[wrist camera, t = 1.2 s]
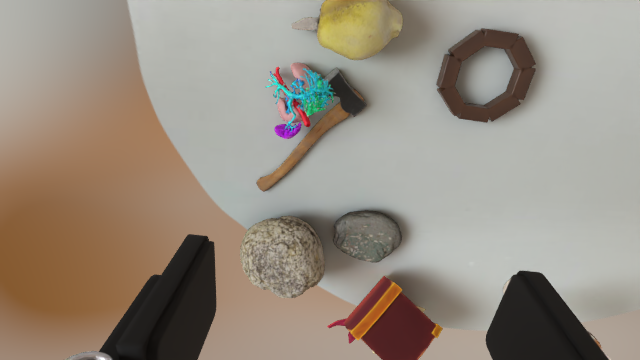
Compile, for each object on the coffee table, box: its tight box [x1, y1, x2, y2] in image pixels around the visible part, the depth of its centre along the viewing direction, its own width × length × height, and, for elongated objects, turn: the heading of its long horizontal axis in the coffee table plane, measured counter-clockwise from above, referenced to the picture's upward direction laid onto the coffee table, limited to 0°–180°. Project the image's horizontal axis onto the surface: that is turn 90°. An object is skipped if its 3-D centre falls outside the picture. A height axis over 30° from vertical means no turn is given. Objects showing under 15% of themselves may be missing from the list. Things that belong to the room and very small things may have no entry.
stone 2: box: [333, 211, 402, 262], centre depth 43 cm, size 7×8×2 cm
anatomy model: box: [266, 63, 336, 139], centre depth 34 cm, size 5×8×7 cm
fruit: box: [292, 0, 403, 60], centre depth 32 cm, size 6×6×10 cm
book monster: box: [328, 276, 443, 360], centre depth 46 cm, size 11×9×12 cm
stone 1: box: [240, 216, 325, 298], centre depth 42 cm, size 6×10×10 cm
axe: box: [257, 68, 367, 191], centre depth 39 cm, size 16×1×5 cm
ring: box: [437, 28, 536, 122], centre depth 35 cm, size 8×8×1 cm
